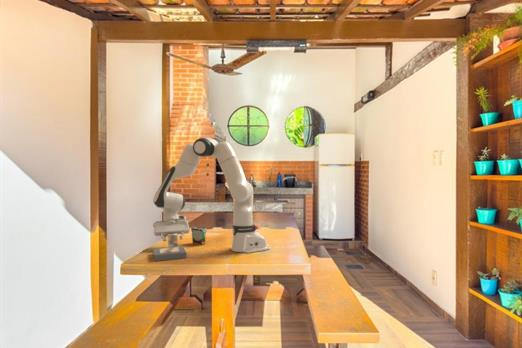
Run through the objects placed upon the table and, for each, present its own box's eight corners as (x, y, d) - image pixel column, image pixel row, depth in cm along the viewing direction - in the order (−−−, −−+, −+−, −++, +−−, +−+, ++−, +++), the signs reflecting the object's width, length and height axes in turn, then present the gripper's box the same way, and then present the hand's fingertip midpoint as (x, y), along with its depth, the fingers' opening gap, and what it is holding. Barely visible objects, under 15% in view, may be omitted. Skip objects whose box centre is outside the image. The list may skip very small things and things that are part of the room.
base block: (182, 251, 194) (182, 245, 194) (186, 257, 179) (186, 251, 179) (153, 253, 189) (153, 248, 189) (154, 261, 174) (154, 255, 174)
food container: (211, 243, 212) (210, 227, 212) (203, 245, 207) (202, 229, 207) (199, 241, 220) (198, 225, 220) (191, 242, 216) (190, 227, 215)
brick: (177, 248, 202) (176, 233, 201) (177, 250, 197) (177, 234, 197) (168, 249, 200) (167, 233, 200) (168, 251, 195) (168, 235, 195)
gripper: (153, 218, 201) (154, 238, 192) (188, 216, 208) (190, 235, 199) (153, 224, 205) (154, 244, 196) (187, 222, 212) (190, 241, 203)
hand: (172, 239), depth 198 cm, fingers open, 8 cm apart
